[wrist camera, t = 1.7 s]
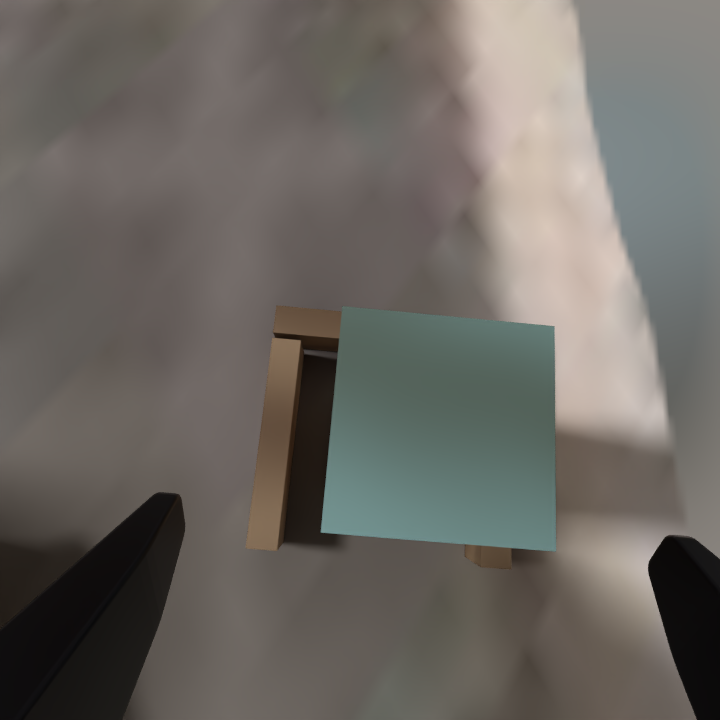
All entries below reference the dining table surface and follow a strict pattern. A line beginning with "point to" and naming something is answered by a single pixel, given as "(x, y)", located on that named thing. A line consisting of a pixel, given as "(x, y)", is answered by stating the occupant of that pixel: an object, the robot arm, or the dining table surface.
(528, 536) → the teal long block
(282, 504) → the frame
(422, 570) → the dining table surface
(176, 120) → the dining table surface
